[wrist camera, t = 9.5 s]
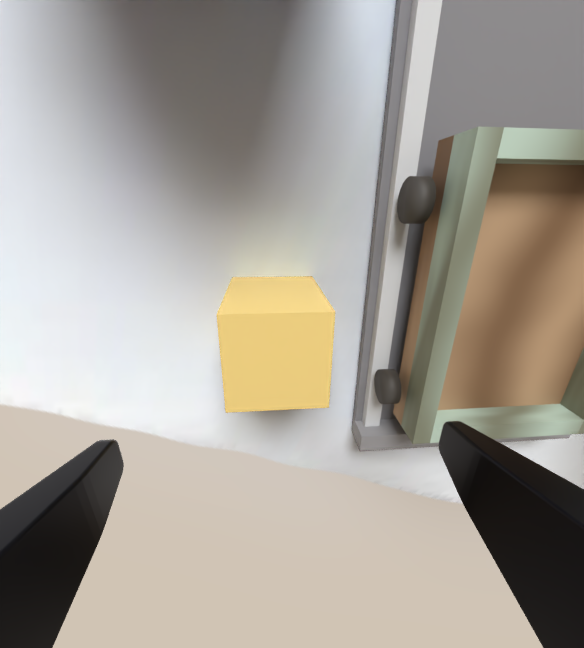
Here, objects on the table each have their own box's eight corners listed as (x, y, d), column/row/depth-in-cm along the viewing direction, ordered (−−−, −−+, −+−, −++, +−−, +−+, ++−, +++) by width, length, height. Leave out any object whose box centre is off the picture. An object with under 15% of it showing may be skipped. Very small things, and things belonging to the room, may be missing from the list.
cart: (675, 147, 15) (771, 135, 12) (567, 400, 20) (614, 431, 18) (405, 141, 14) (441, 125, 11) (370, 410, 19) (388, 445, 16)
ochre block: (311, 276, 17) (335, 311, 12) (309, 346, 19) (328, 407, 13) (232, 277, 17) (216, 314, 11) (237, 349, 18) (225, 412, 13)
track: (769, -135, 12) (860, -196, 10) (544, 418, 23) (568, 437, 21) (415, -177, 11) (446, -255, 9) (351, 429, 21) (359, 451, 20)
